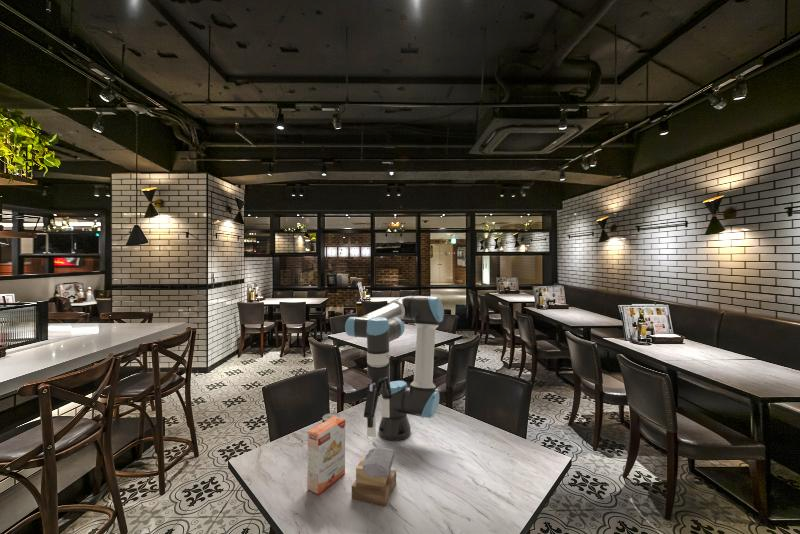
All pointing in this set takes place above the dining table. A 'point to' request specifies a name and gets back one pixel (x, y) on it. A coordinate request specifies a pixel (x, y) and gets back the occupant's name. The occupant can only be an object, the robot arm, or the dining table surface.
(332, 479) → the cracker box
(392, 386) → the robot arm
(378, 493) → the tower base block
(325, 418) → the canned tomato
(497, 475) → the dining table surface
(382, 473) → the stone block
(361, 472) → the tower top block
